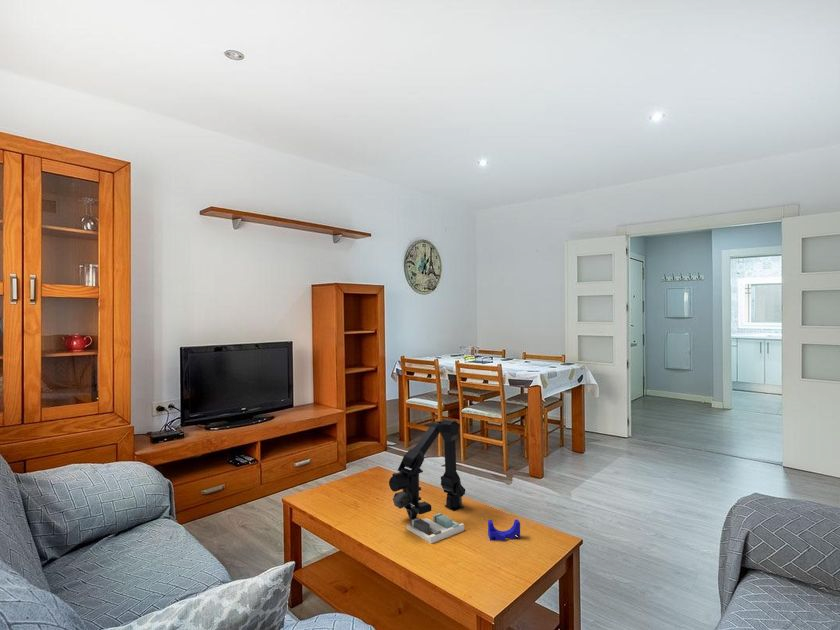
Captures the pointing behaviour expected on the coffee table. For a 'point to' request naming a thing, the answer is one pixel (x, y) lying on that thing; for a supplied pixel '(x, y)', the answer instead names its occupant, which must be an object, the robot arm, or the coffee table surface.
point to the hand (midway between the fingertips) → (412, 522)
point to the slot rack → (437, 531)
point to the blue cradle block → (502, 535)
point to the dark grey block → (420, 525)
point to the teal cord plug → (442, 520)
